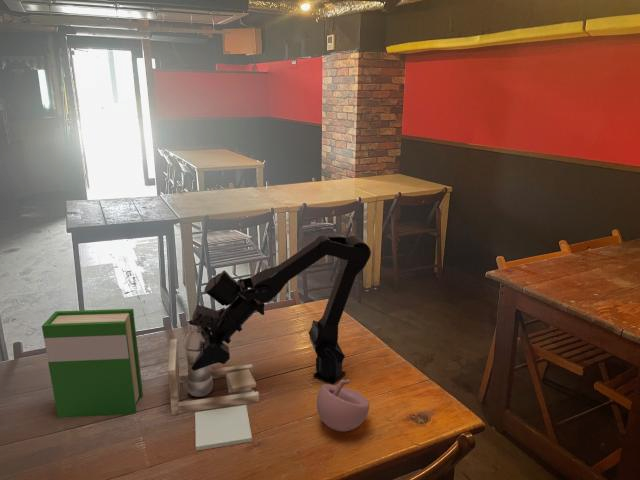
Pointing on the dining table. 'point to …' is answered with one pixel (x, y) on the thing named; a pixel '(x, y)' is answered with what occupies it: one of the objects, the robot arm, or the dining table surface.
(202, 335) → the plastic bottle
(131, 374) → the hardback book
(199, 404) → the birch rack
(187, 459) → the dining table surface
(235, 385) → the offcut stack
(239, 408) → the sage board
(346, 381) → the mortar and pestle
